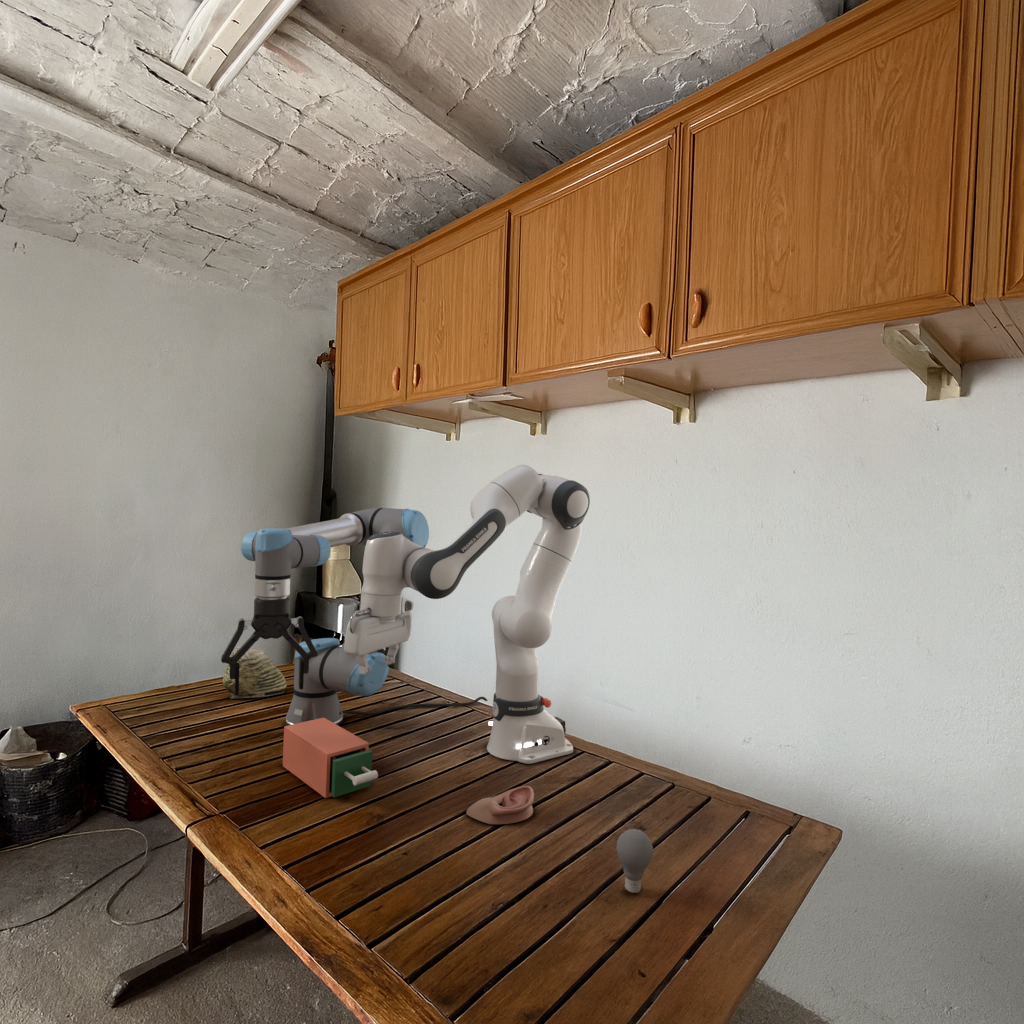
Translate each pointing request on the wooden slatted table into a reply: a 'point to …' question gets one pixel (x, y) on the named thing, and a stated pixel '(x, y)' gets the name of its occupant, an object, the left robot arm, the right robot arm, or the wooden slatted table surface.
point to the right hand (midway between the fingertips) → (377, 668)
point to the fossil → (255, 676)
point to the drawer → (351, 772)
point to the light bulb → (634, 857)
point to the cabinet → (316, 751)
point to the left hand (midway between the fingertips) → (269, 690)
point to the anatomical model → (504, 807)
